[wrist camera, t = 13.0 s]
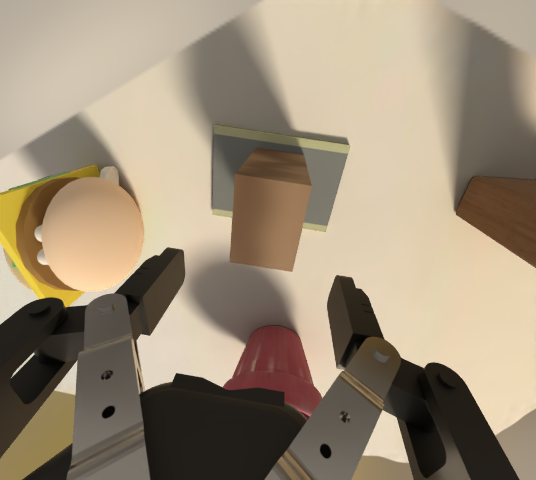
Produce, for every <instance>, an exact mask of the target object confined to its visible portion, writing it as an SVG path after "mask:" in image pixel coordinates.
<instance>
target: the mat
mask: <svg viewBox="0 0 536 480" xmlns="http://www.w3.org/2000/svg"><path fill="white" fill-rule="evenodd" d="M257 147H258V148H264V149H271V150H277V151H284V152H290V153H297V154H303V155H304V157H305V161H306V165H307V169H308V172H309V176H310V180H311V184H312V188H311V192H310V197H309V201H308V205H307V210H306V214H305V218H304V223H303V227H302V228H303V229H310V230H316V231H323V232H326V229H327V225H328V222H329V218H330V215H331V211H332V208H333V204H334V201H335V197H336V194H337V190H338V187H339V183H340V180H341V176H342V173H343V169H344V166H345V162H346V159H347V155H348V152H349V148H350V145H347V144H341V143H334V142H327V141H321V140H314V139H307V138H301V137H294V136H287V135H281V134H274V133H267V132H261V131H254V130H247V129H241V128H234V127H227V126H220V125H214V142H213V215H218V216H225V217H231V218H232V217H233V200H234V184H235V173H236V172H237V171H238V170H239V169H240V167H241V166H242V165H243V164H244V162H245V161H246V160H247V159H248V157H249V156H250V155H251V154H252V152H253V151H254V150H255V149H256V148H257Z"/></svg>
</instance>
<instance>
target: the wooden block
mask: <svg viewBox="0 0 536 480" xmlns="http://www.w3.org/2000/svg"><path fill="white" fill-rule="evenodd" d="M456 215H457V216H459V217H460V218H462V219H463V220H465V221H466V222H468V223H469V224H471V225H472V226H474V227H475V228H477V229H478V230H480V231H481V232H483V233H484V234H486V235H487V236H489V237H490V238H492V239H493V240H495V241H496V242H498V243H499V244H501V245H502V246H504V247H505V248H507V249H508V250H510V251H511V252H513V253H514V254H516V255H517V256H519V257H520V258H522V259H523V260H525V261H526V262H528V263H529V264H531V265H532V266H534V267H535V268H536V180H531V179H514V178H498V177H481V176H477V177H473V178H472V179H471V181H470V183H469V185H468V187H467V189H466V191H465V194H464V196H463V198H462V200H461V202H460V204H459V206H458V208H457V210H456Z"/></svg>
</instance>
